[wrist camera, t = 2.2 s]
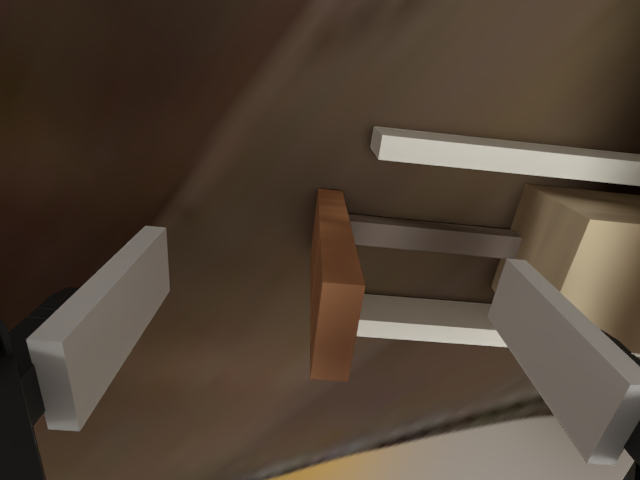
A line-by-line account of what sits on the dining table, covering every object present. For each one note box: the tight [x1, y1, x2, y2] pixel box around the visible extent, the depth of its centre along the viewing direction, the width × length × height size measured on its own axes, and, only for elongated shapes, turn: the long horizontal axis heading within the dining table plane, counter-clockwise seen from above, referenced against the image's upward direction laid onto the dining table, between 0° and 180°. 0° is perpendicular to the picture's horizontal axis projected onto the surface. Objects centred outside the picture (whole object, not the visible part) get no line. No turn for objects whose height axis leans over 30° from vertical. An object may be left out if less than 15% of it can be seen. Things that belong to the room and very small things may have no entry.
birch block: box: [310, 183, 640, 382], centre depth 16 cm, size 16×6×9 cm, turn 84°
